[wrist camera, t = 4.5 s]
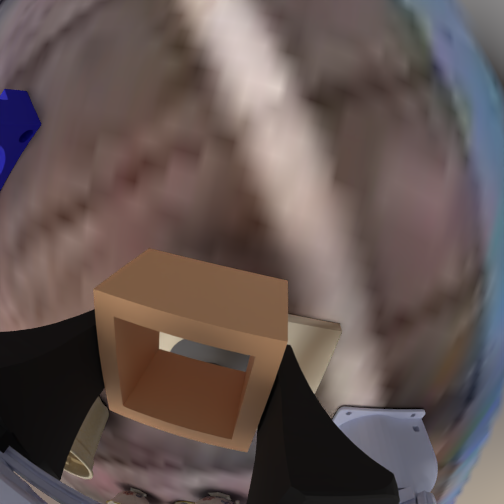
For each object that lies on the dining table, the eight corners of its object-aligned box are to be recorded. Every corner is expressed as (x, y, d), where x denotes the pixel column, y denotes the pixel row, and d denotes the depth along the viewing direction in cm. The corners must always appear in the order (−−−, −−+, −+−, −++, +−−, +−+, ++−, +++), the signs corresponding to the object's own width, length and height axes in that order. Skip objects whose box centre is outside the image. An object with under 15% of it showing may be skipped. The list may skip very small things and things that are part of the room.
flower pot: (112, 383, 24) (71, 444, 16) (130, 436, 27) (103, 489, 19) (46, 359, 25) (3, 404, 17) (70, 413, 28) (39, 456, 20)
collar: (287, 280, 11) (287, 341, 7) (257, 385, 13) (247, 452, 9) (149, 248, 11) (93, 288, 7) (146, 355, 13) (109, 409, 9)
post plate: (339, 323, 19) (353, 375, 14) (293, 427, 23) (292, 474, 18) (121, 273, 20) (79, 307, 15) (127, 385, 24) (103, 425, 19)
